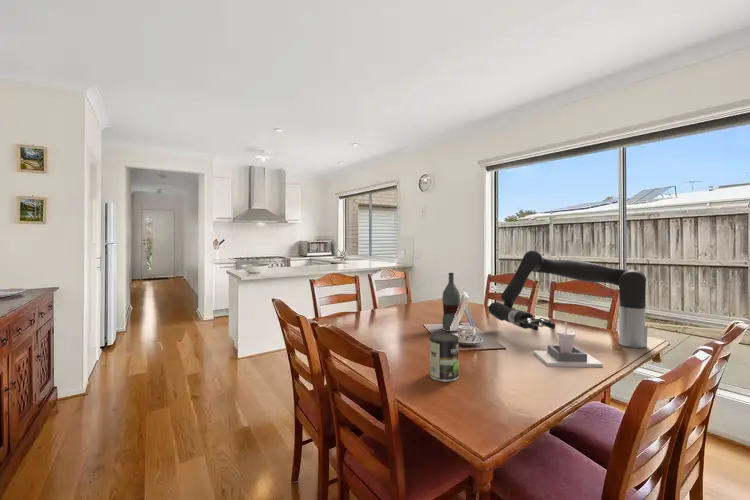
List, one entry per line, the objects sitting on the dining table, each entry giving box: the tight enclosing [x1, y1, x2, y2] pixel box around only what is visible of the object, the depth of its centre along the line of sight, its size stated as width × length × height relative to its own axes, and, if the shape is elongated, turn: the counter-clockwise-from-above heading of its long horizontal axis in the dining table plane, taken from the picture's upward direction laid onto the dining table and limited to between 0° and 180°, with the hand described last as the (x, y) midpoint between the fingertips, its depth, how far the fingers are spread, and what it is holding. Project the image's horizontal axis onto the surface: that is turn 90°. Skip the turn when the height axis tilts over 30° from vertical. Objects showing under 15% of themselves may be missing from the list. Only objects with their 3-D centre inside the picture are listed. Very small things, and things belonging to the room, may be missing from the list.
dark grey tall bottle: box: [441, 272, 461, 330], centre depth 183 cm, size 9×9×30 cm
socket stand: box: [533, 344, 604, 368], centre depth 138 cm, size 20×14×4 cm
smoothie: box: [556, 320, 576, 353], centre depth 138 cm, size 6×6×14 cm
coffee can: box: [428, 332, 460, 383], centre depth 124 cm, size 10×10×14 cm
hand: (545, 327), depth 149 cm, fingers open, 8 cm apart
